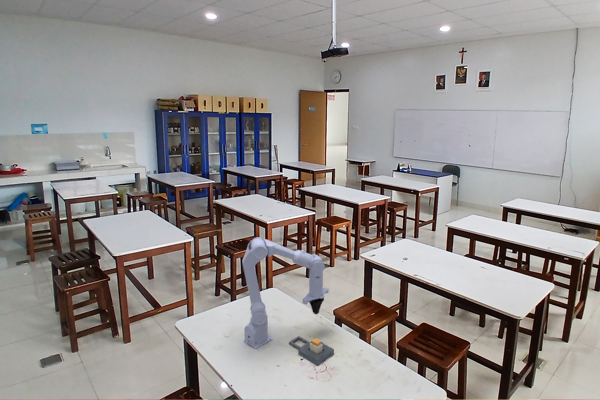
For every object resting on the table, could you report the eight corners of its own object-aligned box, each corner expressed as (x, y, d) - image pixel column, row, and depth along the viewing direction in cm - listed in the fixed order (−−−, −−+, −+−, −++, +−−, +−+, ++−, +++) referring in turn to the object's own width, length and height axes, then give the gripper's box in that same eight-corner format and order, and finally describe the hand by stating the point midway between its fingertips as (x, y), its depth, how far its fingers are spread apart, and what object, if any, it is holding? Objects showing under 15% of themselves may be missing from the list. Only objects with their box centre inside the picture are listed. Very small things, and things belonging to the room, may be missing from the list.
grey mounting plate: (300, 351, 154) (300, 348, 154) (289, 344, 159) (289, 341, 158) (310, 345, 158) (310, 342, 158) (298, 338, 163) (298, 335, 162)
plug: (317, 358, 150) (317, 344, 149) (309, 353, 153) (309, 340, 151) (322, 354, 152) (322, 341, 151) (314, 350, 155) (314, 337, 153)
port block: (317, 365, 145) (317, 361, 145) (298, 354, 152) (298, 349, 152) (333, 353, 153) (334, 349, 152) (315, 343, 159) (315, 339, 159)
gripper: (311, 293, 154) (311, 323, 157) (334, 281, 164) (333, 310, 167) (298, 287, 158) (298, 317, 162) (321, 276, 169) (321, 304, 172)
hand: (315, 313), depth 165 cm, fingers closed
